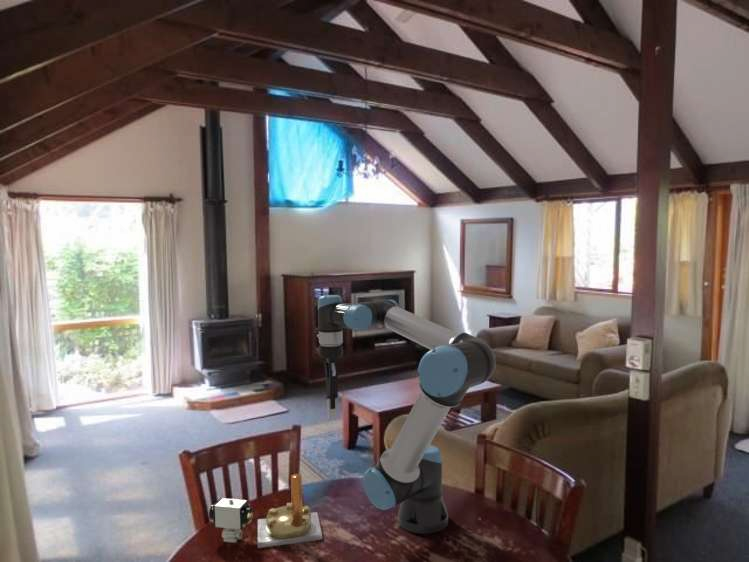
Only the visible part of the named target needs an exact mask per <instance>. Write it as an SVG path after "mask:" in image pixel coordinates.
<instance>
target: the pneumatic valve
mask: <svg viewBox="0 0 749 562" xmlns="http://www.w3.org/2000/svg"><path fill="white" fill-rule="evenodd" d="M254 513H255V511H254V508H253V507H252V506H251V504H250V501H249V500H246V499H240V498H237V499H236V498H224V497H220V498H219V499H218V500H216V502H215V503H213V504H212V505H210V508H209V512H208V518H209V520H210V521H212V523H213V528H222V529H223V530H222V533H221V537H222V539H223V542H224V543H231V544H235V543H237V542H238V540H239V541H240V540H241V539H242V536H243V531H242V530H244V529H245V528H246V526H247V525H248V524H249V525H250V524H251V523H252V521H253V519H254Z"/></svg>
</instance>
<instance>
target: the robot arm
mask: <svg viewBox="0 0 749 562" xmlns="http://www.w3.org/2000/svg"><path fill="white" fill-rule="evenodd" d="M342 298H343V297H342V296H341V295H337V294H328V295H327V294H326V295H320V296H319V297H318V301H317V314H318V315H317V321H318V325H317V326H318V334H316V337H317V338H318V343H319V344H320V345H319V346H318V356H319V357H320V359H321V358H322V359H326V360H325V361H324V363H323V364H324V365H323V366H324V369H325V371H324V372H325V383H326V384H325V387H326V391H325V392H326V397H325V398H326V400H327V419H328V420H330V419H338V410H337V409H338V407H337V405H338V404H337V398H338V397H339V393H338V383H339V382H338V380H339V379H338V378H339V362H337V359H340V358H341V357H343V356H344V346H343V343H344V340H343V339H344V337H343V335H344V334H343V332H344V331H343V329H348V330H353V331H364V330H366V329H367V328H368V327H372V326H373V327H374V326H381V327H384V328H386V329H388V330H390V331H392V332H394V333H396V334H398V335H400V336H402V337H404V338H406V339H408V340H410V341H412V342H414V343H416V344H418V345H420V346H422V347H425V348H426V349H429V351H427V352H426V353H424V355H423V356H422V358H421V359H420V361H419V364H418V368H417V373H418V374H419V376H417V377H418V381H419V382H418V386H419V389H420V392H419V394H418V396H417V398H416V399H415V402H414V404H413V406H412V408H411V410H410V412H409V414H408V415H407V417H406V418H405V421H404V424H403V425H402V427H401V429H400V430H399V433H398V435H397V437H396V439H395V441H394V442H393V445H392V446H391V447H390V448H388V449H386V450H385V451H383V453H382V454H381V456H380V458H379V459H378V462H377V464H376V465H374V466H373V467H372V466H371V467H369V468H368V469H367V470H366V471H365V472H364V474H363V477H362V478H363V479H362V485H363V488H364V493H365V495H366V496H367V498H368V500H369V501H370V503H371V504H372V505H373V506H375V507H376V509H378V510H382V511H386V510H389V509H393V508H395V507H396V506H397V505H400V506H399V509H398V512H397V519H398V520H397V522H398V524H399V526H400V527H401V528H402V529H404V530H406V531H407V532H410V533H414V534H420V535H430V534H431V535H432V534H435V532H436V533H439V532H441V531H443V530H444V529H446V527H447V526H448V525H449V513H448V510H447V507H446V503H445V501H444V498H443V460H442V458H443V457H442V452H441V449H440V448H438V447H436V446H435V445H432V444H431V443H432V442H433V441H434V438H435V436H436V435H437V432H438V431H439V429H440V428H441V425H442V424H443V422H444V420H445V418H446V417H447V415H448V413H449V411H450V409H451V408H456V407H458V406H459V405H460V404H461V403H462V402H463V399H464V397H465V396H466V393H467V392H468V390H469V389H470V388H473V387H476V386H479V385H482V384H484V383H486V382H487V381H488V380H490V379H491V377H492V376H493V374H494V372H495V369H496V363H497V361H496V355H495V353H494V351H493V348H491V346H490V345H489V344H488V343H487V342H485V341H484V340H482V339H480V338H479V337H476V336H474V335H472V334H469V333H468V332H460V333H458V332H456V331H453V330H451V329H449V328H446V327H444V326H443V325H440V324H437V323H435V322H433V321H430V320H428V319H425V318H424V317H421V316H419V315H417V314H414V313H412V312H410V311H408V310H406V309H403V308H401V307H400V305H399V304H398V302H397V301H396V300H394V299H380V300H372V301H364V302H363V301H362V302H357V303H347V302H345V303H344V302H343V300H342ZM375 507H374V508H375Z"/></svg>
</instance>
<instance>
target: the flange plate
mask: <svg viewBox="0 0 749 562" xmlns="http://www.w3.org/2000/svg"><path fill="white" fill-rule="evenodd" d="M320 540H323V533H322V528H321V523H320V519H319V514H318V512H317V511H314V512H311V527H310V529H309V530H308V531H307V532H305V533H304V534H302V535H300V536H297V537H292V538H277V537H274V536H271V535H270V534H269V533H268V532H267V529H266V518H258V519H257V549H262V548H263V549H264V548H268V547H276V546H282V545H289V544H290V545H292V544H299V543H306V542H311V541H320Z"/></svg>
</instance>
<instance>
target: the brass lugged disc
mask: <svg viewBox="0 0 749 562" xmlns="http://www.w3.org/2000/svg"><path fill="white" fill-rule="evenodd" d="M302 481H303V479H302V474H300V473H293V474H292V475H291V476H290V489H291V491H290V493H291V494H290V495H291V497H290V498H291V502H287V503H286V505H283V506H279V507H277V508H273V507H272V508H270V509H269V510H268V512H267V513H268V514H267V515H266V529H267V532H268V533H269V534H270V535H271V536H274V537H277V538H292V537H297V536H300V535H302V534H304V533H305V532H307V531H308V530H309V529H310V527H311V513H312V512H311V510H310V509H311V507H309V506H308V505H305V506H303V482H302Z"/></svg>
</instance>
